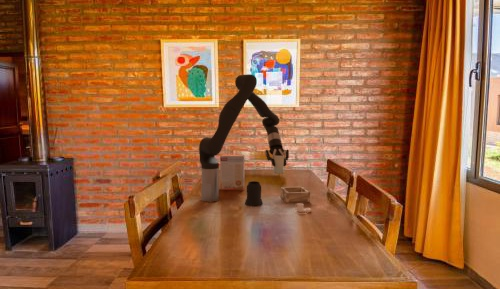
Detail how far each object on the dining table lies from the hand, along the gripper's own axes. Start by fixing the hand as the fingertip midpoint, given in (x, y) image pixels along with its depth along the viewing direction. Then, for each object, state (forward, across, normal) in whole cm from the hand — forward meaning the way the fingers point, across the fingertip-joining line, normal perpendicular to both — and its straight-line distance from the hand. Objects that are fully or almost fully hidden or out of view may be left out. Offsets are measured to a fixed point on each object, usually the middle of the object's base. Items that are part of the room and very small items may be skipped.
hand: (279, 165), depth 179 cm
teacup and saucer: (+35, +3, -10) cm, 37 cm away
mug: (+21, -16, +4) cm, 27 cm away
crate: (+19, +6, +5) cm, 21 cm away
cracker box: (0, -24, +24) cm, 35 cm away
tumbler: (+2, 0, +4) cm, 5 cm away
